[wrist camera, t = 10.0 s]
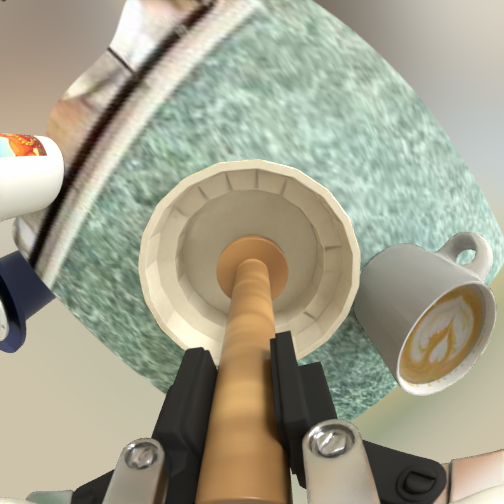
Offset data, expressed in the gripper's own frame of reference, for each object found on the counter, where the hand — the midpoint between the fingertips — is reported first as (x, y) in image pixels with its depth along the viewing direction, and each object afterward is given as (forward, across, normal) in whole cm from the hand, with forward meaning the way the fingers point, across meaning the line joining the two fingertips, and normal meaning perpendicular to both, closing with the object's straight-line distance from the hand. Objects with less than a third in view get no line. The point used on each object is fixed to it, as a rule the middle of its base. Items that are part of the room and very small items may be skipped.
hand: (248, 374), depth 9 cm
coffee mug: (+16, -15, +6) cm, 22 cm away
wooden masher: (+12, 0, 0) cm, 12 cm away
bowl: (+16, 0, 0) cm, 16 cm away
